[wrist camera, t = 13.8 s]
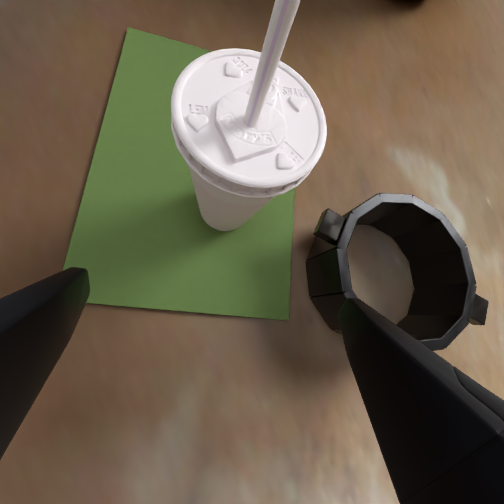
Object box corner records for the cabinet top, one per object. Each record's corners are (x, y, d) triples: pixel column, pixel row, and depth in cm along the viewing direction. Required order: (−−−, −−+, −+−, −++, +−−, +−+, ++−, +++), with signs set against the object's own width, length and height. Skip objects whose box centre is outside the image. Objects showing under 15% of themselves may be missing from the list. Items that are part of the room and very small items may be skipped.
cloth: (287, 320, 19) (288, 320, 18) (56, 300, 16) (54, 300, 15) (298, 79, 24) (300, 76, 24) (129, 30, 21) (128, 26, 21)
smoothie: (165, 228, 18) (88, -13, 5) (200, 155, 20) (218, -169, 6) (250, 262, 19) (393, 140, 5) (276, 189, 21) (430, -36, 7)
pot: (416, 374, 20) (477, 391, 16) (269, 296, 19) (292, 292, 14) (444, 259, 23) (501, 248, 19) (319, 186, 22) (350, 156, 18)
